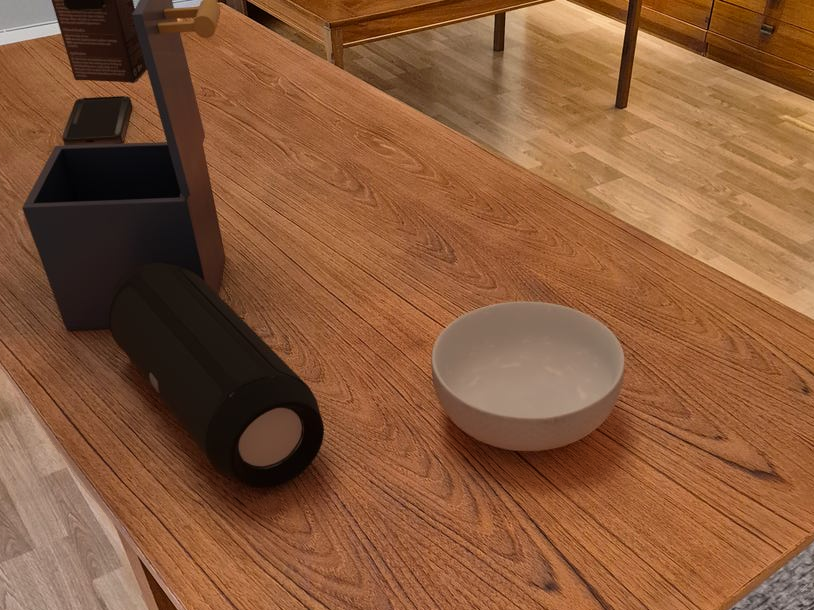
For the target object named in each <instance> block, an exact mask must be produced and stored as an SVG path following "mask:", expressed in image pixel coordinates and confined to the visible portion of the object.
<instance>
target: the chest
mask: <svg viewBox="0 0 814 610" xmlns="http://www.w3.org/2000/svg"><path fill="white" fill-rule="evenodd" d="M216 207H217V206H216V202H215V198H214V192H213V187H212V183H211V178H210V173H209V167H208V163H207V158H206V153H205V148H204V145H203V146H202V150H201V154H200V158H199V163H198V167H197V171H196V175H195V179H194V183H193V187H192V191H191V195H190V196H182V195H181V192H180V188H179V184H178V181H177V177H176V173H175V170H174V166H173V163H172V159H171V155H170V152H169V148H168V144H167V141H160V142H159V141H155V142H153V141H152V142H129V143H127V142H126V143H125V142H124V143H120V144H94V145H54V147H53V149H52V151H51V152H50V154H49V157H48V158H47V160H46V162H45V164H44V166H43V167H42V170H41V172H40V173H39V175H38V177H37V179H36V181H35V183H34V185H33V186H32V188H31V189H30V192H29V193H28V196H27V197H26V200H25V202H24V203H23V205H22V207H21V209H22V212H23V214H24V217H25V220H26V223H27V226H28V228H29V231H30V233H31V237H32V240H33V242H34V245H35V247H36V250H37V253H38V255H39V259H40V261H41V264H42V267H43V269H44V273H45V275H46V277H47V281H48V283H49V286H50V289H51V292H52V294H53V298H54V301H55V303H56V306H57V309H58V311H59V314H60V316H61V319H62V322H63V324H64V328H65V330H66V331H67V332H70V331H71V332H72V331H87V330H90V331H91V330H105V329H106V330H107V329H109V330H110V327H109V317H108V316H109V299H110V295H111V292H112V290H113V288H114V286H115V285H116V283H117V282H118V281H119V279H120V278H121V277H122V276H124V275H125V274H126V273H127V272H129V271H130V270H132V269H134V268H136V267H138V266H141V265H144V264H148V263H164V264H170V265H175V266H179V267H183V268H185V269H188V270H190V271H192V272H193V273H195V274H196V275H198V276H199V277H200V278H202V279H203V280H204V281H205V282H206V283H207V284H208V285H209V286H210V287H211V288H212V289H213V290H214V291H215V292H216V293H217V294H218V295H219V296H220V290H221V285H222V278H223V273H224V266H225V260H226V252H225V246H224V243H223V237H222V233H221V227H220V223H219V218H218V213H217V212H218V211H217V208H216Z"/></svg>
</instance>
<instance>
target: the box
mask: <svg viewBox="0 0 814 610" xmlns="http://www.w3.org/2000/svg"><path fill="white" fill-rule="evenodd" d="M50 1H51V3H52V6H53V10H54V13H55V17H56V21H57V24H58V27H59V30H60V34H61V38H62V40H63V44H64V47H65V51H66V54H67V57H68V61H69V65H70V68H71V72H72V76H73V78H74V80H75V81H91V82H110V83H111V82H113V83H129V84H135V83H138V81H139V80H140V79H141V78H142V77H143V75H145V73H146V72H147V68H146V64H145V61H144V57H143V53H142V50H141V46H140V43H139V39H138V35H137V32H136V28H135V24H134V21H133V17H132V14H133V12H134V10H135V8H136V6H135V4H134V0H103V7H102V8H101V9H81V10H69V9H67V8H66V7H65V5H64V1H63V0H50Z"/></svg>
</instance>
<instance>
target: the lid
mask: <svg viewBox="0 0 814 610" xmlns="http://www.w3.org/2000/svg"><path fill="white" fill-rule="evenodd" d="M220 15H221V7H220V5H219V3H218V2H217V1H216V0H201V1H200V3H199V6H188V7H187V6H185V7H175V6H174V2H173V0H139V1H138V2H137V4H136V6H135V10H134V12H133V14H132V17H133V21H134V24H135V28H136V32H137V35H138V39H139V43H140V46H141V50H142V53H143V57H144V61H145V64H146V68H147V70H146V72H147V75H148V79H149V83H150V87H151V90H152V93H153V97H154V100H155V105H156V108H157V112H158V115H159V118H160V122H161V127H162V129H163V133H164V137H165V142H167V144H168V148H169V152H170V155H171V159H172V163H173V166H174V170H175V173H176V177H177V181H178V184H179V188H180V192H181V195H182V196H190V195H191V191H192V187H193V183H194V179H195V175H196V171H197V167H198V163H199V158H200V154H201V150H202V146H203V147H204V143H205V138H206V133H205V130H204V125H203V121H202V116H201V113H200V109H199V105H198V100H197V97H196V93H195V88H194V85H193V80H192V76H191V71H190V68H189V64H188V60H187V55H186V51H185V47H184V43H183V39H182V35H181V33H192V32H195V34H196V35H197V36H199V37H200V38H202V39H210V38H212V37H213V36H214V35H215V34H216V29H217V26H218V22H219V19H220ZM178 19H194V20H184V21H183V20H182V21H178Z"/></svg>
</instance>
